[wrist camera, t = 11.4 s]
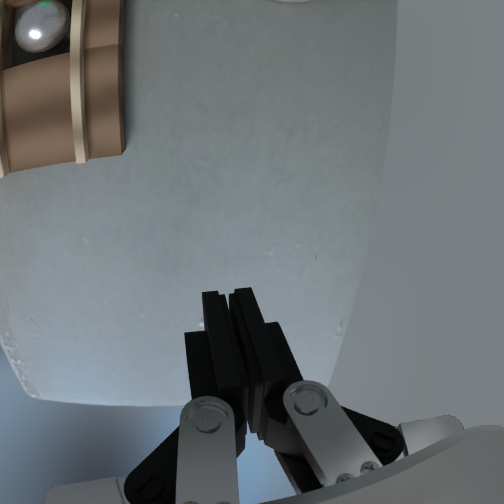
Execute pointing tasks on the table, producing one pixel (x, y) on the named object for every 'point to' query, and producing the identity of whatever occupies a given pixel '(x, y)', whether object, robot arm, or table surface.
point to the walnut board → (64, 92)
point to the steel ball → (42, 25)
